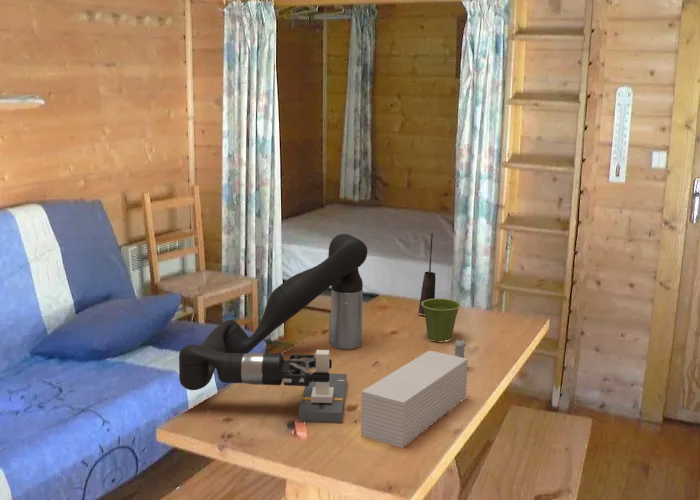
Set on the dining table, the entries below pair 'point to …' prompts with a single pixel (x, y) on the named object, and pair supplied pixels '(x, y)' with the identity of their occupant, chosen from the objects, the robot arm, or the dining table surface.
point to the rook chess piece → (459, 348)
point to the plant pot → (440, 318)
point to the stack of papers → (413, 398)
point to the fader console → (324, 410)
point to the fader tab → (322, 389)
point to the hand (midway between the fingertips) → (330, 370)
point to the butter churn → (428, 284)
